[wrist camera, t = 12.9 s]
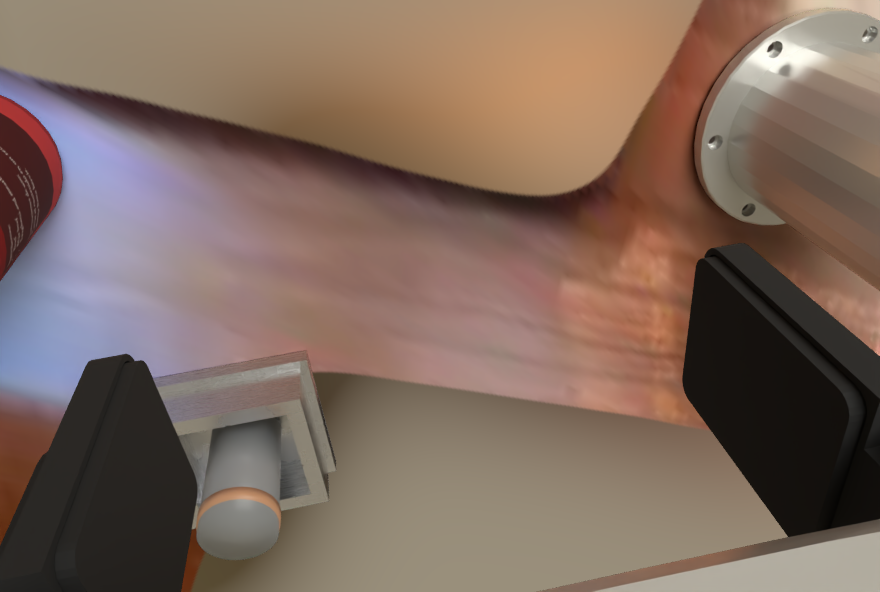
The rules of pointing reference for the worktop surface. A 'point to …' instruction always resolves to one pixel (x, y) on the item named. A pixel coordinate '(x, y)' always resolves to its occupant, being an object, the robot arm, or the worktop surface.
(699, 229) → the worktop surface
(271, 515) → the canister
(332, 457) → the fitting
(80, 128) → the worktop surface
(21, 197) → the canned food
